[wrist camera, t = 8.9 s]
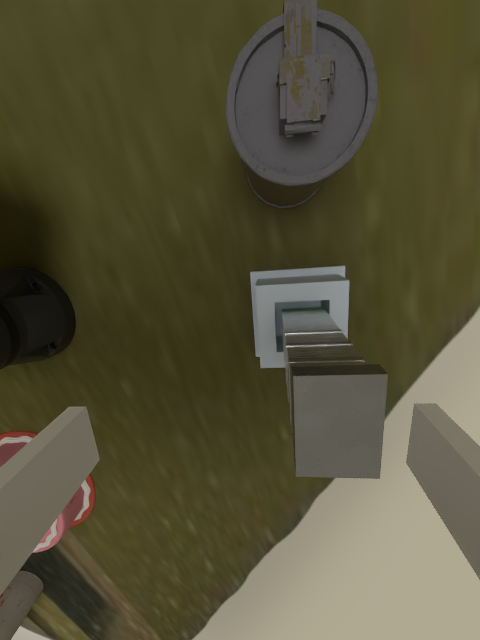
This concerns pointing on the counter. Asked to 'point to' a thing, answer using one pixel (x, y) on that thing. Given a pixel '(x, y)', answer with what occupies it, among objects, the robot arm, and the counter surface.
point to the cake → (75, 510)
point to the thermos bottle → (18, 602)
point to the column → (331, 398)
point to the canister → (300, 102)
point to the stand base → (294, 304)
